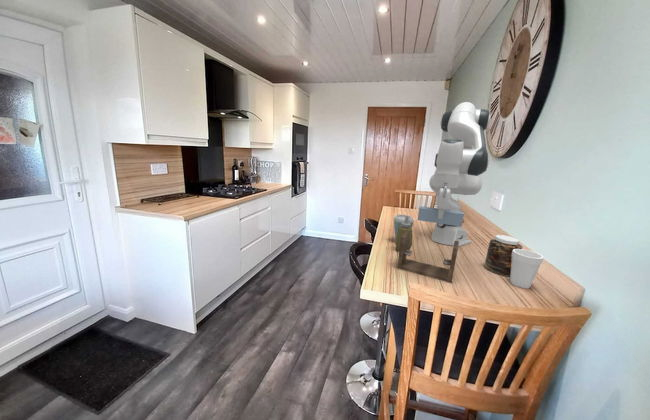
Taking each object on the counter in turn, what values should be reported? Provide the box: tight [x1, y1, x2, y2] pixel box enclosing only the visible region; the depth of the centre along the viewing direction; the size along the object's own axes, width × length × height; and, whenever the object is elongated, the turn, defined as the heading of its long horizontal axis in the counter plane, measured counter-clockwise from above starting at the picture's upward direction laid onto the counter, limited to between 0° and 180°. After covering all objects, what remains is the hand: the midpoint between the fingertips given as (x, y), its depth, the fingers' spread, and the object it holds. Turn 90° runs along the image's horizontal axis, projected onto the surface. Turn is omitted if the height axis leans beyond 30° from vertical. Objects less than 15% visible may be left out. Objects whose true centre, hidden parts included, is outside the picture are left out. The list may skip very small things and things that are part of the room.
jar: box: [483, 234, 523, 277], centre depth 109 cm, size 12×12×15 cm
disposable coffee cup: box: [393, 214, 415, 242], centre depth 137 cm, size 11×11×15 cm
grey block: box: [417, 205, 465, 227], centre depth 100 cm, size 16×4×5 cm, turn 66°
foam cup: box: [509, 248, 545, 289], centre depth 98 cm, size 10×9×13 cm
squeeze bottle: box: [395, 215, 413, 252], centre depth 125 cm, size 8×8×18 cm
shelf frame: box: [396, 231, 459, 284], centre depth 105 cm, size 21×10×14 cm, turn 60°
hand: (439, 216), depth 100 cm, fingers closed on grey block, 4 cm apart
